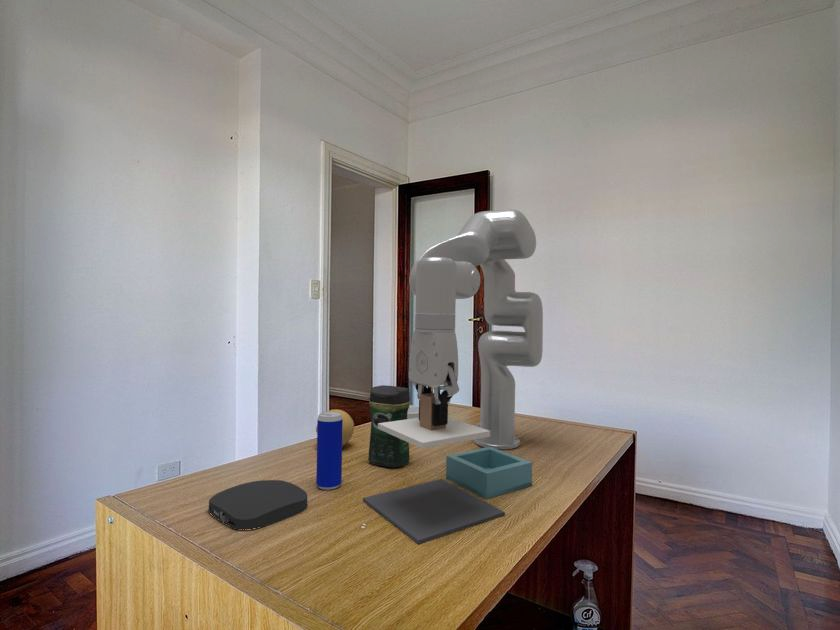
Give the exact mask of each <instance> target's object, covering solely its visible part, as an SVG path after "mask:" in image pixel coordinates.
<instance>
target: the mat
mask: <svg viewBox="0 0 840 630" xmlns="http://www.w3.org/2000/svg"><path fill="white" fill-rule="evenodd" d="M362 502H363V503H365V504H366V505H367V506H368V507H370V508H371V509H372V510H374V511H375V512H376V513H378V515H380V516H381V517H383V518H384V519H385V520H387V522H389V523H390V524H391V525H393V526H394V527H395V528H397V529H398V530H399V531H400V532H402V533H403V534H404V535H406V536H407V537H408V538H409V539H411V540H412V541H413V542H414V543H416V544H417V545H420V544H423V543H425V542H426V543H427V542H429V541H432V540H434V539H435V540H436V539H438V538H441V537H444V536H447V535H450V534H453V533H456V532H459V531H462V530H464V529H467V528H471V527H474V526H477V525H480V524H483V523H486V522H488V521H491V520H495V519H498V518H501V517H504V516H506V512H505V511H504V510H502V509H501V508H498V507H497V506H494V505H492V504H491V503H488V501H485V500H483V499H480V498H479V497H477V496H476V495H473V494H471V493H470V492H469V491H466V490H464V489H462V488H460V487H458V486H456V485H454V484H452V483H451V482H448V481H446V480H445V479H443V478H439V479H436V480H431V481H426V482H423V483H420V484H414V485H409V486H406V487H403V488H398V489H394V490H389V491H386V492H382V493H378V494H373V495H369V496H366V497H362Z"/></svg>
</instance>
